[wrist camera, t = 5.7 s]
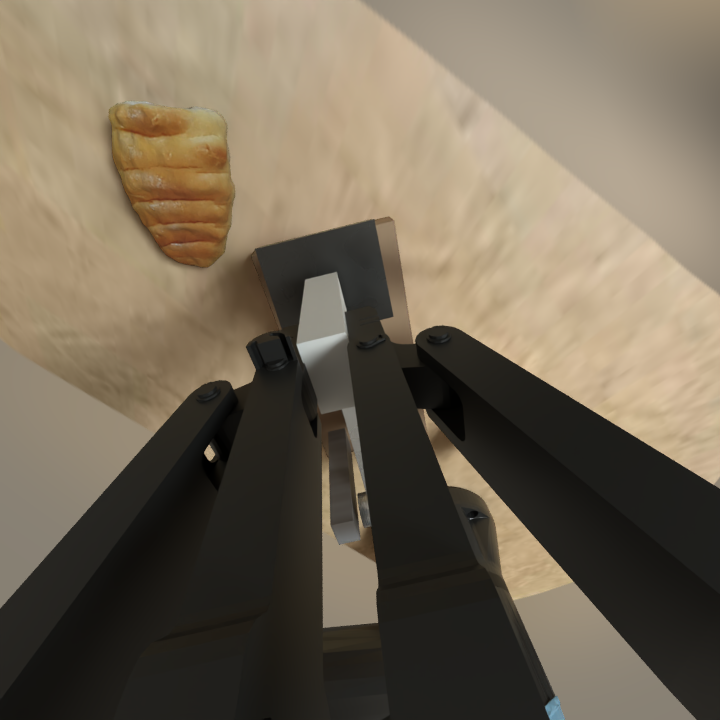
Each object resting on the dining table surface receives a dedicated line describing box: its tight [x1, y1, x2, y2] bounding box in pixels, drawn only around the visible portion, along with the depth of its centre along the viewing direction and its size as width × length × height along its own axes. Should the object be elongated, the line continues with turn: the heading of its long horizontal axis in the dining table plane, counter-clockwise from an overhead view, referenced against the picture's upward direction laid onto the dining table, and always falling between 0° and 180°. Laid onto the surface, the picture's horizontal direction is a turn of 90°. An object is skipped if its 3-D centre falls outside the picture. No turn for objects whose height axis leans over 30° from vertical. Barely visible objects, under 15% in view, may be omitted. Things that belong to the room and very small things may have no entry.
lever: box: [255, 219, 394, 528], centre depth 22 cm, size 21×6×3 cm, turn 14°
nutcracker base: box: [251, 217, 427, 545], centre depth 25 cm, size 20×10×12 cm, turn 12°
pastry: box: [108, 101, 235, 267], centre depth 21 cm, size 9×7×4 cm
